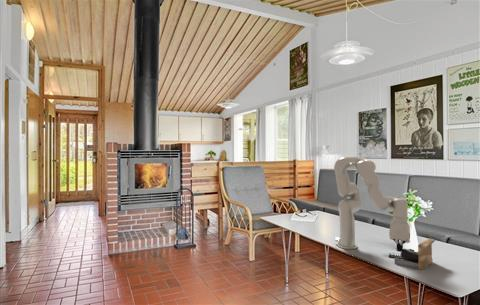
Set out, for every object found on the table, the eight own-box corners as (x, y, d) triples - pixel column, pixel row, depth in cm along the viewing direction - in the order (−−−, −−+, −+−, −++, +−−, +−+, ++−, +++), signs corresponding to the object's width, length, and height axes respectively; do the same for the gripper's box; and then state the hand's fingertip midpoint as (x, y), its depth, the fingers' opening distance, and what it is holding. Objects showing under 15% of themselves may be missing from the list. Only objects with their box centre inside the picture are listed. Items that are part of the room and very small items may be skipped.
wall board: (418, 269, 161) (418, 245, 162) (428, 261, 174) (428, 238, 174) (425, 271, 159) (424, 246, 159) (435, 262, 171) (434, 239, 171)
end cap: (400, 260, 175) (400, 249, 175) (408, 258, 178) (408, 247, 178) (417, 266, 166) (417, 254, 166) (425, 264, 169) (425, 252, 169)
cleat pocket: (394, 263, 170) (394, 258, 170) (406, 256, 183) (406, 251, 183) (418, 269, 161) (418, 263, 161) (428, 260, 174) (428, 255, 174)
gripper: (384, 218, 179) (383, 249, 180) (411, 223, 169) (411, 255, 169) (389, 216, 185) (388, 246, 185) (416, 220, 174) (415, 252, 174)
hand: (399, 250), depth 177 cm, fingers closed
